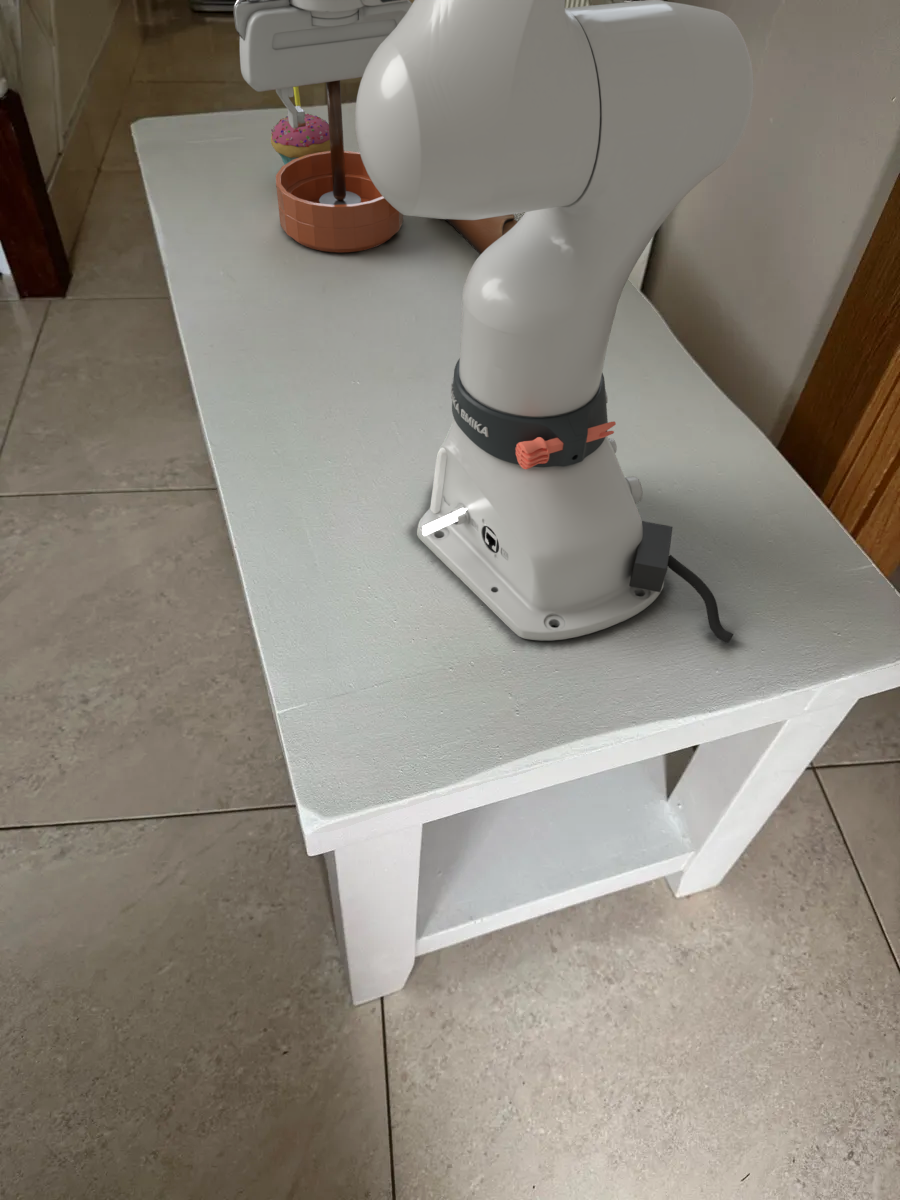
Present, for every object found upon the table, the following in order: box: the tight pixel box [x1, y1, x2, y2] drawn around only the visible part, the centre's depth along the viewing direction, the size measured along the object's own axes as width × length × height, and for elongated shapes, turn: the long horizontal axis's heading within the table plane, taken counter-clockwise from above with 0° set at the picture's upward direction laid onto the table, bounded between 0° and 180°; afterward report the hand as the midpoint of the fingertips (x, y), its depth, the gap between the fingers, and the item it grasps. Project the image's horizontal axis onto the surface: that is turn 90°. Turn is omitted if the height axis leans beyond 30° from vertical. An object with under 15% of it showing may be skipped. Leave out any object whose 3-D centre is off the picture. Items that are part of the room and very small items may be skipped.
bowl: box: [275, 150, 404, 253], centre depth 115 cm, size 15×15×6 cm
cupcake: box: [270, 86, 330, 166], centre depth 122 cm, size 9×8×12 cm
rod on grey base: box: [319, 80, 361, 205], centre depth 110 cm, size 5×5×18 cm
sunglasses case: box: [445, 214, 518, 256], centre depth 115 cm, size 18×7×7 cm
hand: (335, 119), depth 108 cm, fingers open, 8 cm apart
